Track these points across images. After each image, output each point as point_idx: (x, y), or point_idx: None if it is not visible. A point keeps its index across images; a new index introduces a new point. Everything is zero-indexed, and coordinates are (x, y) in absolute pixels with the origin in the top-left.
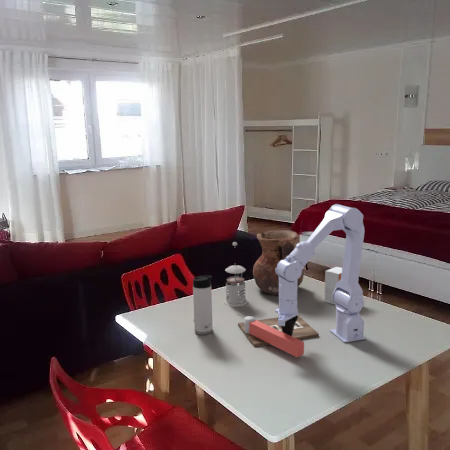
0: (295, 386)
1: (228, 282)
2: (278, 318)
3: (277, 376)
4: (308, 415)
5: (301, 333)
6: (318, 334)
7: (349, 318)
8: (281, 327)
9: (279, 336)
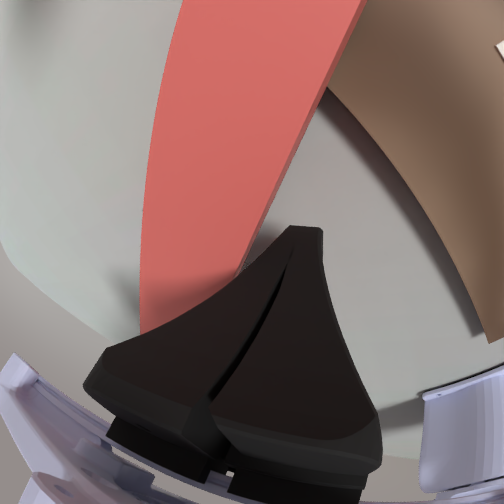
0: (83, 278)
1: None
2: (94, 393)
3: (72, 227)
4: (57, 300)
5: (502, 275)
6: (488, 339)
7: (426, 483)
8: (208, 298)
9: (144, 251)
